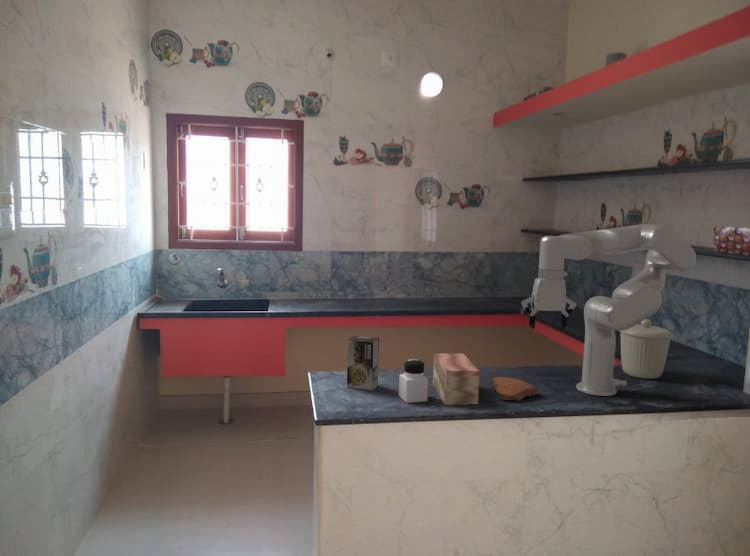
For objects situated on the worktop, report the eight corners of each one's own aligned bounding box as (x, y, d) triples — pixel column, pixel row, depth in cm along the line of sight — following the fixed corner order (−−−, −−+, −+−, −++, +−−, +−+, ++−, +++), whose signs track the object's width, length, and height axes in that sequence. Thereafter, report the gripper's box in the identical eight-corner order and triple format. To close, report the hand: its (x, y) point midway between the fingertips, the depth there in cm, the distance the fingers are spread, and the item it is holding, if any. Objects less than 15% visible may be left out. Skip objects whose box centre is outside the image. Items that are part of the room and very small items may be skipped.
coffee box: (378, 385, 189) (380, 337, 187) (372, 391, 183) (374, 341, 181) (352, 382, 192) (353, 335, 190) (345, 387, 186) (347, 339, 184)
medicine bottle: (428, 401, 174) (429, 363, 173) (405, 403, 172) (407, 364, 171) (419, 394, 181) (421, 357, 180) (398, 395, 179) (399, 358, 178)
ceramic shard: (475, 378, 183) (499, 375, 195) (475, 398, 183) (498, 395, 194) (518, 382, 174) (539, 379, 185) (518, 403, 173) (539, 399, 185)
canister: (635, 383, 201) (640, 324, 198) (605, 369, 218) (609, 314, 216) (680, 381, 205) (686, 323, 202) (646, 368, 222) (651, 314, 220)
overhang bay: (461, 383, 194) (463, 353, 192) (477, 404, 173) (479, 371, 172) (432, 383, 193) (434, 353, 192) (445, 404, 172) (446, 370, 171)
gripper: (573, 274, 185) (569, 326, 187) (520, 273, 185) (517, 325, 187) (582, 277, 178) (578, 331, 180) (526, 275, 177) (523, 329, 179)
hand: (547, 328), depth 183 cm, fingers open, 9 cm apart
